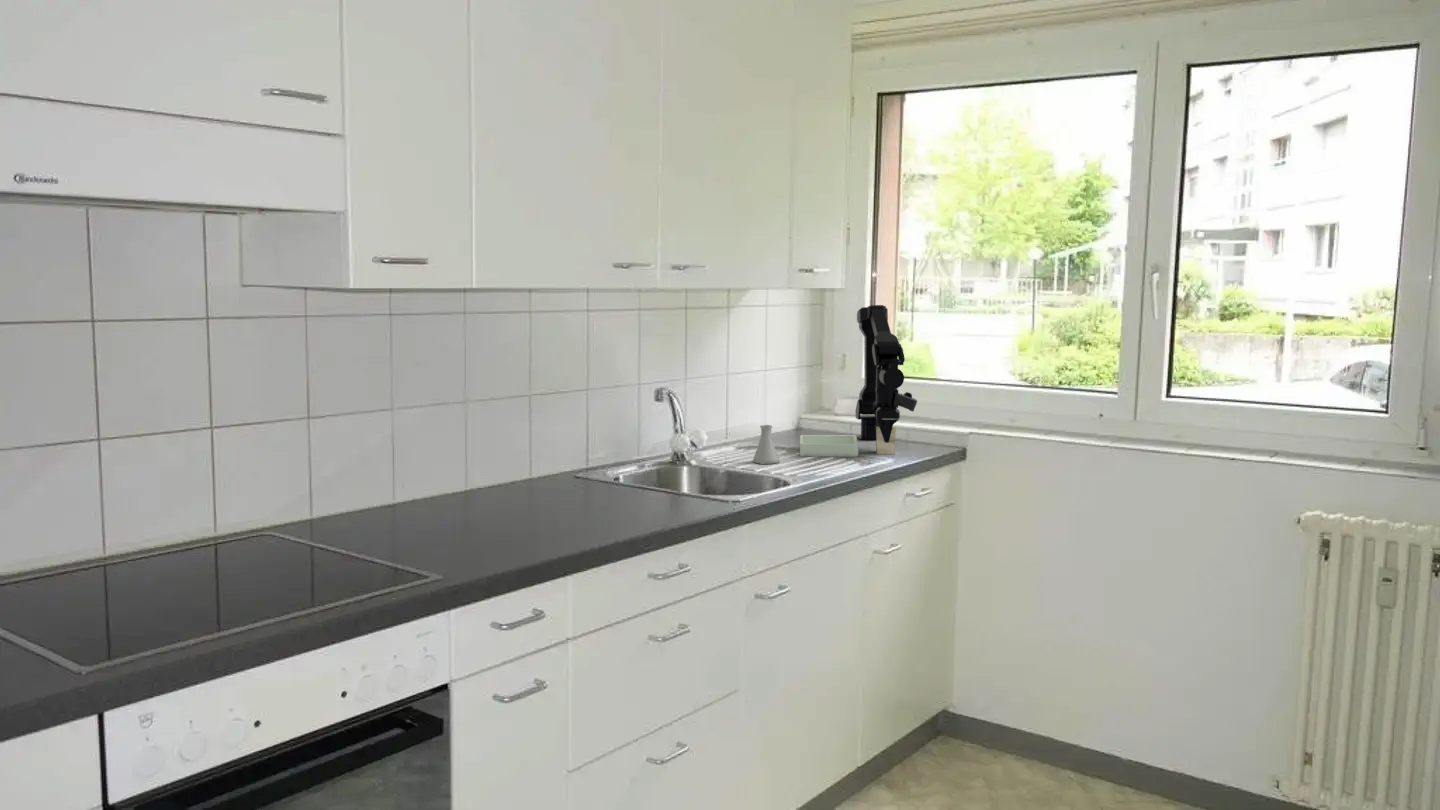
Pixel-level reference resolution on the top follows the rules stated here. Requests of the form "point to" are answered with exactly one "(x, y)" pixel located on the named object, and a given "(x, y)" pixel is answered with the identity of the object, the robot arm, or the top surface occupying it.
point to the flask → (766, 447)
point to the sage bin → (828, 446)
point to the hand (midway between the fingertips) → (885, 439)
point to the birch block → (885, 447)
